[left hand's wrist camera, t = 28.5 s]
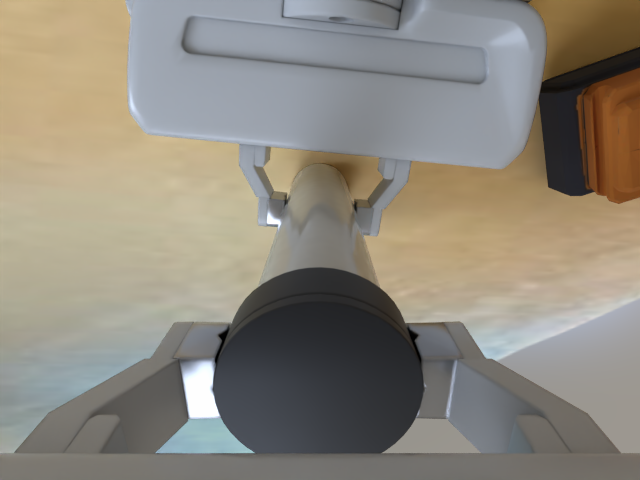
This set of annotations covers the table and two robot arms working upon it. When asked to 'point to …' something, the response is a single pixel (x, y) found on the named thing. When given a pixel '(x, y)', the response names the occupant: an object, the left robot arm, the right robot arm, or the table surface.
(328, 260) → the white cylinder
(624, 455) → the left robot arm
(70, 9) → the table surface
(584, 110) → the power drill
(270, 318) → the lid
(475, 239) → the table surface
